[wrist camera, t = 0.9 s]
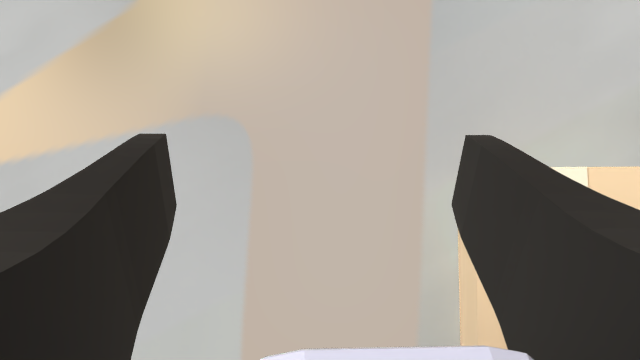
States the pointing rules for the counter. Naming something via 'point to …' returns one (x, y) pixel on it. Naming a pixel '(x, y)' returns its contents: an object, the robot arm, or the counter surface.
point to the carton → (475, 308)
